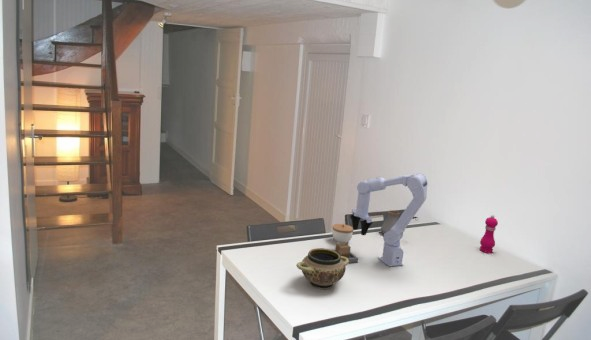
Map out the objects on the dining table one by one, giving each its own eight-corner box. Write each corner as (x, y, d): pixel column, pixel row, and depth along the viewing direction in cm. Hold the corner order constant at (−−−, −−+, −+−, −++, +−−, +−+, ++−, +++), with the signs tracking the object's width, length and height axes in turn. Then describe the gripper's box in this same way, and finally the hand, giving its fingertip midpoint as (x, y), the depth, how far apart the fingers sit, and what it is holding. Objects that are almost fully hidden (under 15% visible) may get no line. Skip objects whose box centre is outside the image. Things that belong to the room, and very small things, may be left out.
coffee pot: (375, 232, 253) (379, 206, 249) (389, 229, 260) (392, 204, 257) (406, 246, 237) (411, 218, 233) (420, 242, 244) (424, 215, 241)
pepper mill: (490, 249, 244) (497, 213, 239) (495, 254, 237) (502, 217, 232) (477, 247, 244) (483, 212, 240) (481, 252, 237) (488, 216, 233)
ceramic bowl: (337, 279, 197) (335, 244, 197) (362, 287, 181) (360, 249, 181) (286, 287, 185) (285, 250, 185) (308, 297, 169) (307, 256, 169)
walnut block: (349, 259, 210) (350, 246, 209) (339, 259, 208) (341, 247, 207) (343, 254, 215) (345, 242, 214) (334, 255, 213) (335, 243, 212)
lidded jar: (352, 246, 229) (355, 228, 227) (331, 244, 229) (333, 226, 227) (350, 238, 239) (352, 221, 237) (330, 236, 239) (332, 219, 237)
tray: (357, 262, 209) (358, 258, 209) (336, 264, 205) (337, 260, 204) (345, 253, 219) (346, 248, 218) (325, 255, 214) (326, 250, 214)
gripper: (347, 201, 223) (344, 227, 226) (363, 210, 210) (360, 238, 213) (360, 200, 226) (356, 226, 229) (376, 209, 213) (372, 237, 216)
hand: (359, 232), depth 221 cm, fingers open, 7 cm apart
